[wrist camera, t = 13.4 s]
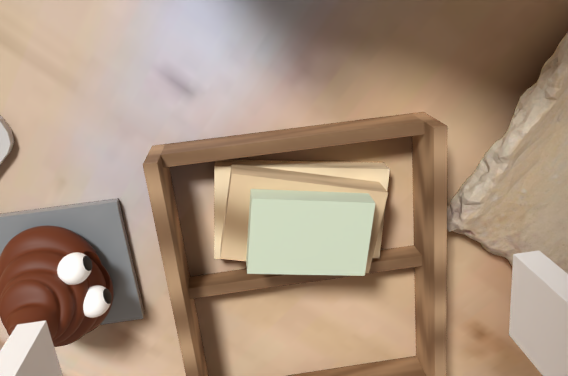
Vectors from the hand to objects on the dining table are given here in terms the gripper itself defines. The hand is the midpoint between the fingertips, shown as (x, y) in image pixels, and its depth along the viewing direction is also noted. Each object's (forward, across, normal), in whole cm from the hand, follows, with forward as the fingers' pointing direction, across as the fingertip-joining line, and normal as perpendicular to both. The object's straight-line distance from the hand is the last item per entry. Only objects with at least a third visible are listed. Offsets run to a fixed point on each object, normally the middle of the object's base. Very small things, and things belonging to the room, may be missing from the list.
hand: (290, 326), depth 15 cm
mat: (+29, -17, -11) cm, 35 cm away
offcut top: (+24, +3, -8) cm, 26 cm away
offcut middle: (+27, +3, -8) cm, 28 cm away
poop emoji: (+28, -17, -11) cm, 35 cm away
